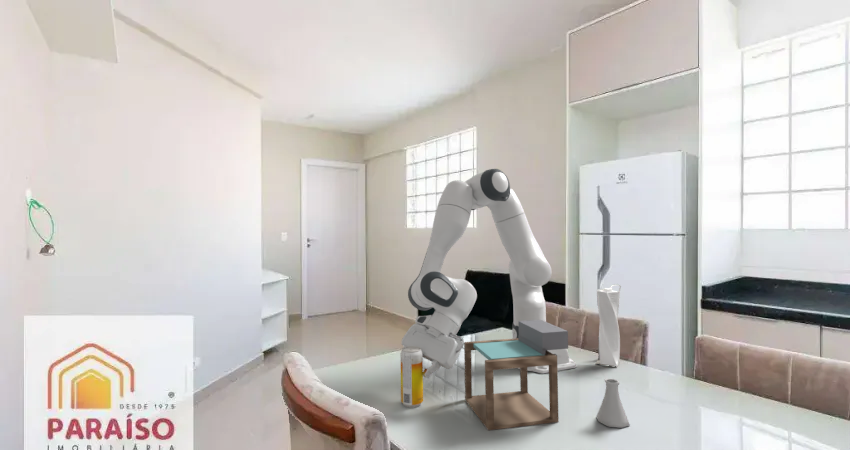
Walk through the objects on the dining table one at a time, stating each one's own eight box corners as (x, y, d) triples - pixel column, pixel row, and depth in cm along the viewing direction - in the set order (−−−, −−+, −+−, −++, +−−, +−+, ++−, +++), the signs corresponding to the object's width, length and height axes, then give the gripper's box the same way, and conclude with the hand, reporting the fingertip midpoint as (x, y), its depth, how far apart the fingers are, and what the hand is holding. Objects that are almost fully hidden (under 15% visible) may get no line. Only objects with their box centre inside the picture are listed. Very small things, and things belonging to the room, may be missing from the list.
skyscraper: (624, 362, 143) (622, 283, 144) (621, 369, 136) (619, 286, 137) (598, 359, 147) (596, 282, 148) (595, 365, 141) (593, 284, 141)
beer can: (426, 400, 113) (425, 346, 114) (418, 409, 107) (418, 352, 108) (406, 397, 115) (405, 344, 115) (397, 406, 109) (396, 350, 110)
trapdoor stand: (525, 393, 117) (524, 337, 117) (558, 421, 99) (557, 356, 100) (465, 399, 113) (464, 342, 114) (488, 430, 96) (487, 362, 96)
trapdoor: (541, 342, 116) (541, 319, 116) (568, 356, 103) (567, 331, 103) (473, 347, 112) (473, 324, 112) (491, 362, 98) (491, 336, 99)
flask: (591, 415, 102) (590, 376, 103) (618, 414, 103) (617, 374, 103) (606, 429, 95) (605, 386, 95) (635, 428, 96) (634, 385, 96)
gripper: (472, 345, 112) (445, 390, 106) (425, 326, 127) (399, 364, 122) (460, 332, 109) (432, 377, 103) (414, 315, 124) (387, 353, 119)
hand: (414, 370), depth 113 cm, fingers open, 8 cm apart
